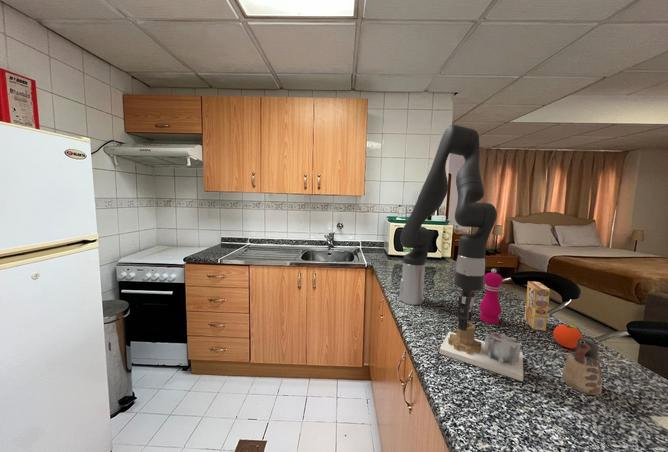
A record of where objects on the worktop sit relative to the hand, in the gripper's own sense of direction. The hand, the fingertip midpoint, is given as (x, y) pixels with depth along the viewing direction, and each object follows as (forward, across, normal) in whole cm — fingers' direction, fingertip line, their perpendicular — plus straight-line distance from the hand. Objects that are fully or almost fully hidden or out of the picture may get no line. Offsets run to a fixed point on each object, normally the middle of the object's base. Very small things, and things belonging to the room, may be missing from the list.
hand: (464, 324), depth 80 cm
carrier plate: (+8, 0, +5) cm, 9 cm away
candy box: (+8, -35, +19) cm, 41 cm away
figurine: (+8, -1, +27) cm, 28 cm away
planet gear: (+7, 0, 0) cm, 7 cm away
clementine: (+8, -23, +27) cm, 36 cm away
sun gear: (+6, 0, +10) cm, 12 cm away
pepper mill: (+8, -29, +5) cm, 31 cm away
